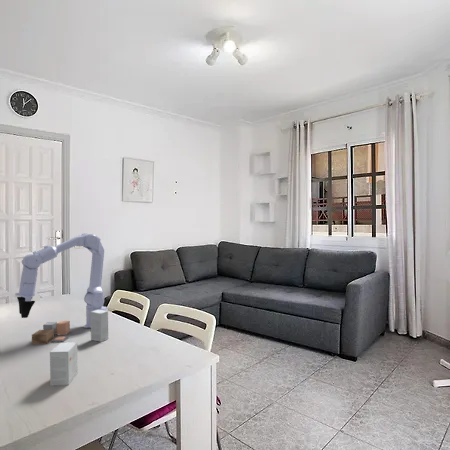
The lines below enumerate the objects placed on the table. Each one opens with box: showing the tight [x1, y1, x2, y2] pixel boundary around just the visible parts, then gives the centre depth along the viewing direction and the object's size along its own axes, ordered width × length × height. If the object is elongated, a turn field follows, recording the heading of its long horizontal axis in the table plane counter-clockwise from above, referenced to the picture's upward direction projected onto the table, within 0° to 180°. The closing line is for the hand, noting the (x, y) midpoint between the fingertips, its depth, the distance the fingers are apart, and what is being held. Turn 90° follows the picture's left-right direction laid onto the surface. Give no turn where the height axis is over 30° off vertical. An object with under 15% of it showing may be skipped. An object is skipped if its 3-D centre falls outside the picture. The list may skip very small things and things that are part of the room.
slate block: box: [42, 321, 58, 336], centre depth 146 cm, size 4×4×5 cm
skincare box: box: [90, 310, 109, 343], centre depth 140 cm, size 6×4×12 cm
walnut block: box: [31, 329, 55, 345], centre depth 138 cm, size 6×6×4 cm
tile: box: [50, 335, 70, 343], centre depth 140 cm, size 5×5×1 cm
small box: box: [49, 341, 79, 387], centre depth 105 cm, size 8×6×10 cm
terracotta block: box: [56, 320, 71, 336], centre depth 148 cm, size 4×4×5 cm
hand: (23, 315), depth 139 cm, fingers open, 7 cm apart
